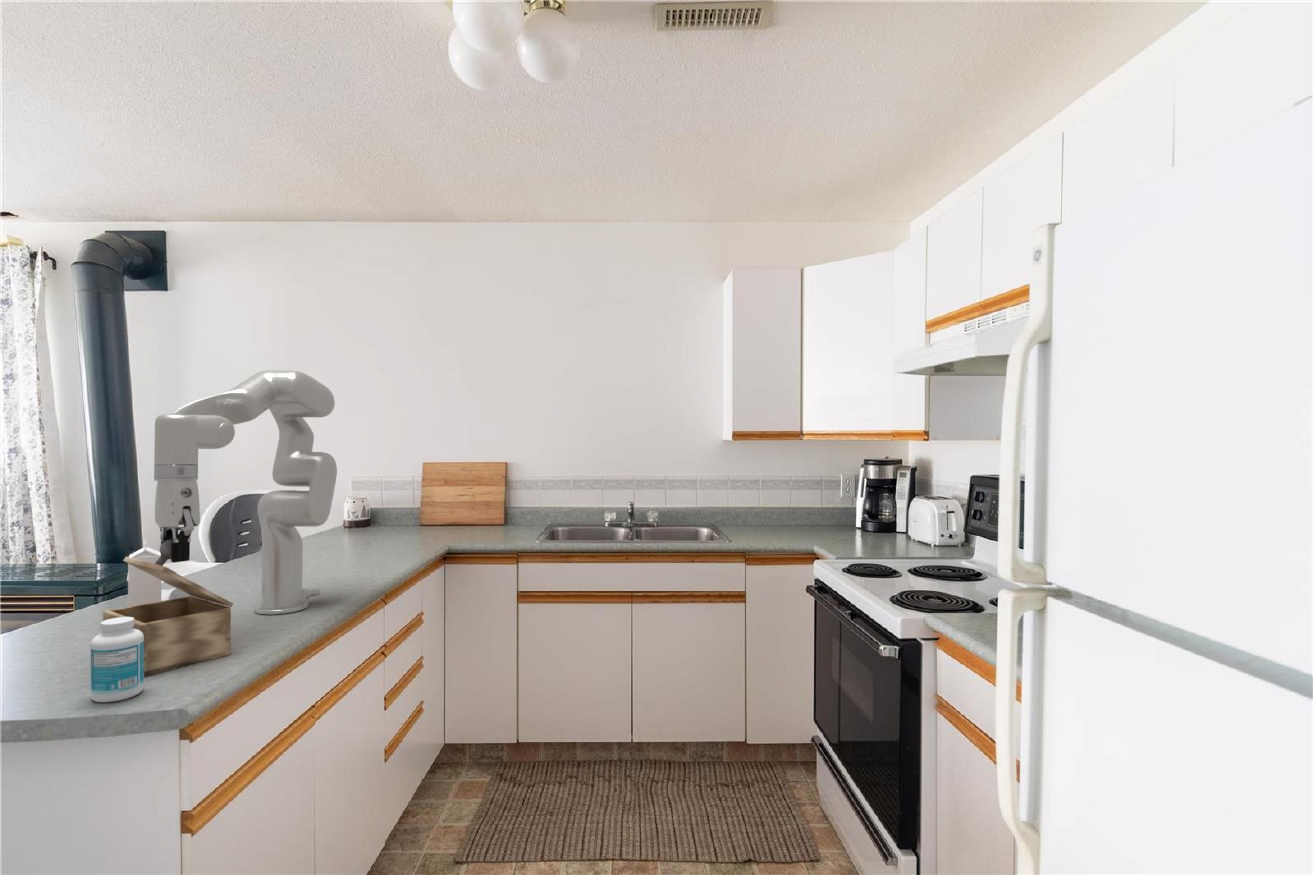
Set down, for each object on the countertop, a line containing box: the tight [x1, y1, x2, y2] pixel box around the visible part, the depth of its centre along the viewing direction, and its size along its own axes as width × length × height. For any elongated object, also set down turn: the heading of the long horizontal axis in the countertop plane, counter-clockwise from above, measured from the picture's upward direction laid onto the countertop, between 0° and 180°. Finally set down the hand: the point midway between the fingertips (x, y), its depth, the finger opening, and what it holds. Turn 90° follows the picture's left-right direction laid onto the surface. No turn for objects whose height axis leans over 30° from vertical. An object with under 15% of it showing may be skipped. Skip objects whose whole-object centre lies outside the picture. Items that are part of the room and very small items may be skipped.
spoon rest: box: [161, 587, 201, 601], centre depth 176 cm, size 24×12×7 cm, turn 21°
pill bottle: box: [90, 617, 145, 703], centre depth 119 cm, size 8×7×14 cm
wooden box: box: [102, 596, 232, 678], centre depth 139 cm, size 16×18×10 cm
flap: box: [122, 539, 234, 608], centre depth 143 cm, size 16×18×7 cm
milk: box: [127, 539, 163, 607], centre depth 152 cm, size 6×6×22 cm
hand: (175, 559), depth 140 cm, fingers closed on flap, 4 cm apart
